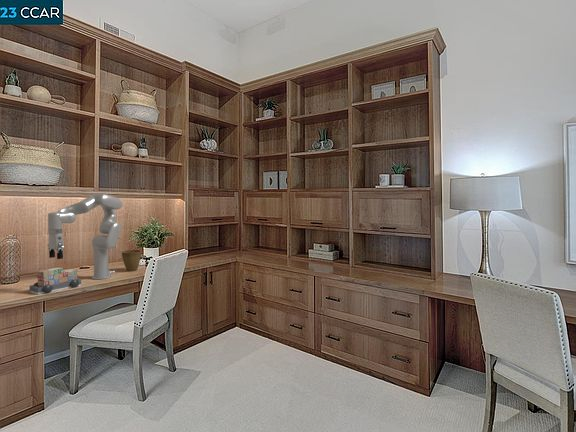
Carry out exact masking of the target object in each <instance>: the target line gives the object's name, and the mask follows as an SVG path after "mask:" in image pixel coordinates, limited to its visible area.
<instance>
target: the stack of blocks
mask: <svg viewBox="0 0 576 432" xmlns="http://www.w3.org/2000/svg"><path fill="white" fill-rule="evenodd" d="M77 279H78V270H77V269H66V270H64V268H63V267H53V268H46V269H41V270H37V282H38V287H44V286H45V285H55V284H60V283H65V282H71V281H72V280H77Z"/></svg>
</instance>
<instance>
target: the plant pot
mask: <svg viewBox="0 0 576 432" xmlns="http://www.w3.org/2000/svg"><path fill="white" fill-rule="evenodd" d="M121 256H122V261H123V264H124V267H125V269H126V272H137V271H138V268H139V265H140V262H141V257H142V250H141V249H130V250H129V249H128V250H123V251H121Z"/></svg>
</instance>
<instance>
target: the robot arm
mask: <svg viewBox="0 0 576 432" xmlns="http://www.w3.org/2000/svg"><path fill="white" fill-rule="evenodd" d="M99 206H100V207H101V209H102V210H103V218H102V220H101V223H100V225H99V227H98V229H99V233H101V234H103V235H101V234H99V235H96V236H93V238H92V240H91V246H92V249H93V275H92V276H91V279H92V280H106V279H110V278H111V277H112V274H116V272H115V271H116V270H109V267H110V266H109V249H110V250H111V249H114V248H115V247H116V245H117V243H118V240H119V238H120V235H121V232H122V225H121V224H120V223H119V222H116V219H117V214H116V211H115V210H120V209H121V208H122V207H123V201H122V200H121V199H120V198H119V197H116V196H114V195H113V196H112V195H110V194H106V193H93V194H90V196H88V197H85V198H84V199H82V200H80V201H78V202H76V203H73V204H70V205H68V206H65V207H63V208H61V209H60V210H58V211H56V212H49V213H47V233H48V244H47V248H48V255H49V259H52V258H56V259H57V260H61V259H63V258H64V248H65V244H64V243H65V242H64V235H63V224H71V223H74V222H75V221H76V220H77V215H81V214H86V213H88V212H90V211H91V210H93V209H95V208H96V207H99ZM55 250H56V251H55Z"/></svg>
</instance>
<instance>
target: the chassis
mask: <svg viewBox="0 0 576 432" xmlns="http://www.w3.org/2000/svg"><path fill="white" fill-rule="evenodd" d="M78 287H82V279H79V278H77V280H72V281H71V282H65V283H60V284H55V285H45V286H44V287H38V281H36V282H35V283H33V284H31V285H29V293H32V294H35V295H43V294H49V293H52V292H57V291H58V292H59V291H62V290H68V289H72V288H78Z"/></svg>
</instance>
